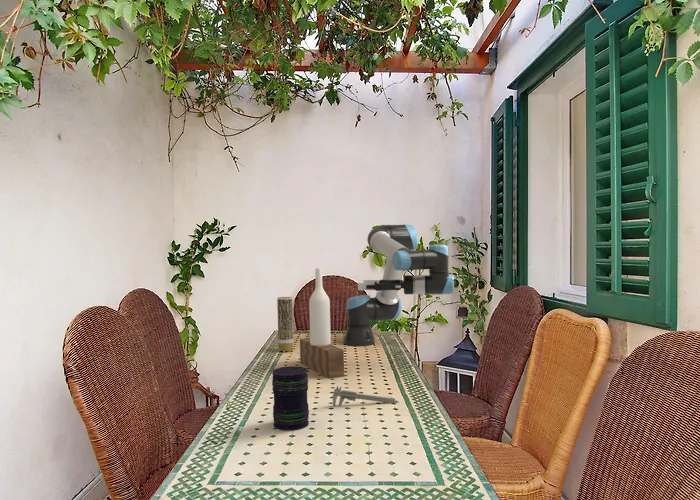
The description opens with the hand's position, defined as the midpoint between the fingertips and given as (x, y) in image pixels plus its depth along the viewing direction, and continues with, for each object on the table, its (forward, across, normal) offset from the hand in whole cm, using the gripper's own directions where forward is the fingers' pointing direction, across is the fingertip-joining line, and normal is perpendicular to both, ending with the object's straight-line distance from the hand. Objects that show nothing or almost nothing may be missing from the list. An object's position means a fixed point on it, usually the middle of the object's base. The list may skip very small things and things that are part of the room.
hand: (360, 284), depth 210 cm
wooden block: (+16, -6, -33) cm, 37 cm away
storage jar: (+9, -69, -32) cm, 77 cm away
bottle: (+16, -6, -23) cm, 28 cm away
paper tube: (+40, +27, -34) cm, 59 cm away
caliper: (-9, -48, -33) cm, 59 cm away
